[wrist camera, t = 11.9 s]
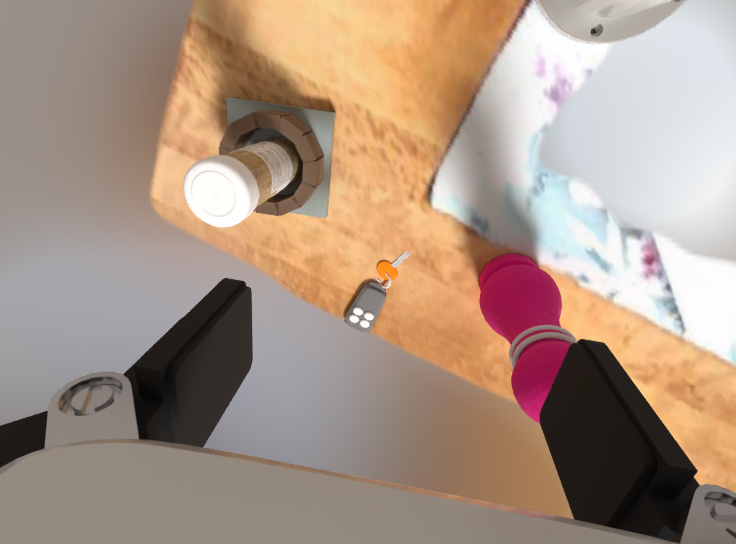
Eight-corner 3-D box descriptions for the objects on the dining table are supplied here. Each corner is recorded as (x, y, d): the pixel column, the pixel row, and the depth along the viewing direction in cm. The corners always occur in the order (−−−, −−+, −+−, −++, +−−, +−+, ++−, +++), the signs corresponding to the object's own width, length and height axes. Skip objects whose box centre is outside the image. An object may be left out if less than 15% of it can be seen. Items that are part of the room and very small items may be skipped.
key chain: (371, 329, 46) (370, 337, 44) (343, 317, 45) (341, 324, 44) (422, 240, 40) (422, 245, 39) (391, 225, 40) (390, 229, 38)
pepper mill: (466, 303, 42) (501, 461, 24) (484, 243, 39) (540, 375, 21) (532, 314, 42) (616, 484, 24) (555, 255, 38) (674, 400, 21)
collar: (231, 97, 36) (210, 98, 32) (335, 112, 35) (325, 115, 31) (234, 200, 40) (216, 211, 36) (327, 215, 40) (318, 227, 36)
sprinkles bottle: (262, 184, 38) (189, 228, 26) (255, 135, 36) (172, 159, 24) (306, 184, 37) (253, 229, 25) (302, 135, 35) (241, 159, 23)
